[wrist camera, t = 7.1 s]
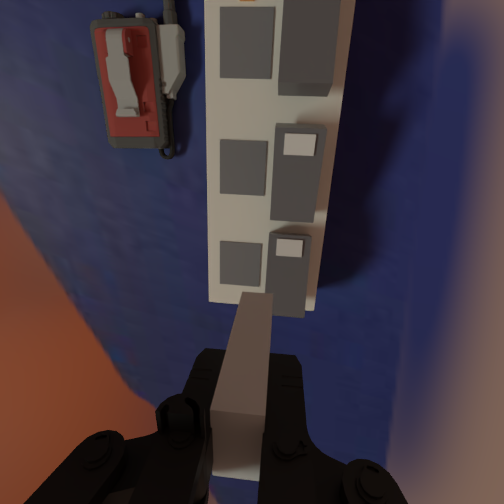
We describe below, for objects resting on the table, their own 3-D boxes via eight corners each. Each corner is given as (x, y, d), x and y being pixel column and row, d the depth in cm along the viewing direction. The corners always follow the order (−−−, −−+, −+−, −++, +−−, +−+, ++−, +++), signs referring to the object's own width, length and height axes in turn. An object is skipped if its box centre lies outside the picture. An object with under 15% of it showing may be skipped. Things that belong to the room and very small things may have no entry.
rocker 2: (276, 122, 24) (275, 127, 22) (324, 124, 24) (327, 129, 21) (271, 209, 28) (269, 221, 26) (311, 212, 28) (313, 223, 26)
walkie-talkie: (194, 159, 32) (179, -72, 26) (181, 160, 28) (159, -114, 22) (122, 158, 33) (89, -65, 27) (99, 159, 29) (53, -104, 22)
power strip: (217, -42, 26) (202, -86, 21) (351, -44, 25) (368, -91, 20) (218, 282, 37) (208, 302, 32) (309, 290, 36) (314, 312, 31)
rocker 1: (285, -14, 22) (286, -44, 19) (337, -14, 22) (345, -45, 19) (278, 95, 23) (278, 80, 21) (327, 96, 23) (333, 82, 20)
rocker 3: (269, 231, 29) (268, 233, 26) (309, 234, 29) (311, 236, 26) (264, 306, 30) (263, 315, 28) (302, 309, 30) (304, 318, 27)
